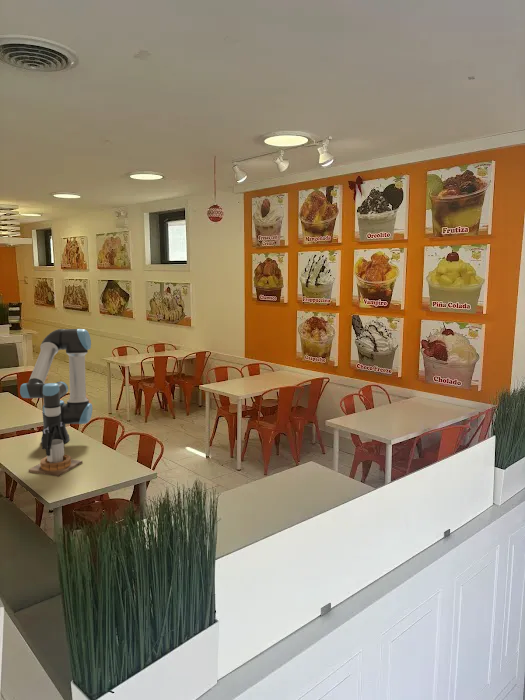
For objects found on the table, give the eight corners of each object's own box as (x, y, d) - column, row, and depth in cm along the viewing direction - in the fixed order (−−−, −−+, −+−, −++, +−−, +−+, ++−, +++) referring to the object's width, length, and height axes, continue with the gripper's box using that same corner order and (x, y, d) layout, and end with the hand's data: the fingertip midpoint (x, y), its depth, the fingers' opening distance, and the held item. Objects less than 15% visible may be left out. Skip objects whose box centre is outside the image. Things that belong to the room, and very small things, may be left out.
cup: (59, 468, 262) (57, 445, 260) (44, 467, 264) (42, 444, 261) (68, 462, 270) (66, 439, 267) (54, 460, 271) (52, 438, 269)
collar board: (53, 458, 278) (53, 451, 277) (82, 463, 272) (82, 455, 271) (28, 471, 261) (28, 463, 260) (58, 476, 255) (58, 468, 255)
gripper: (60, 408, 273) (63, 450, 277) (31, 419, 253) (35, 464, 257) (72, 409, 270) (75, 451, 274) (44, 421, 251) (47, 466, 255)
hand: (55, 458), depth 266 cm, fingers closed on cup, 8 cm apart
